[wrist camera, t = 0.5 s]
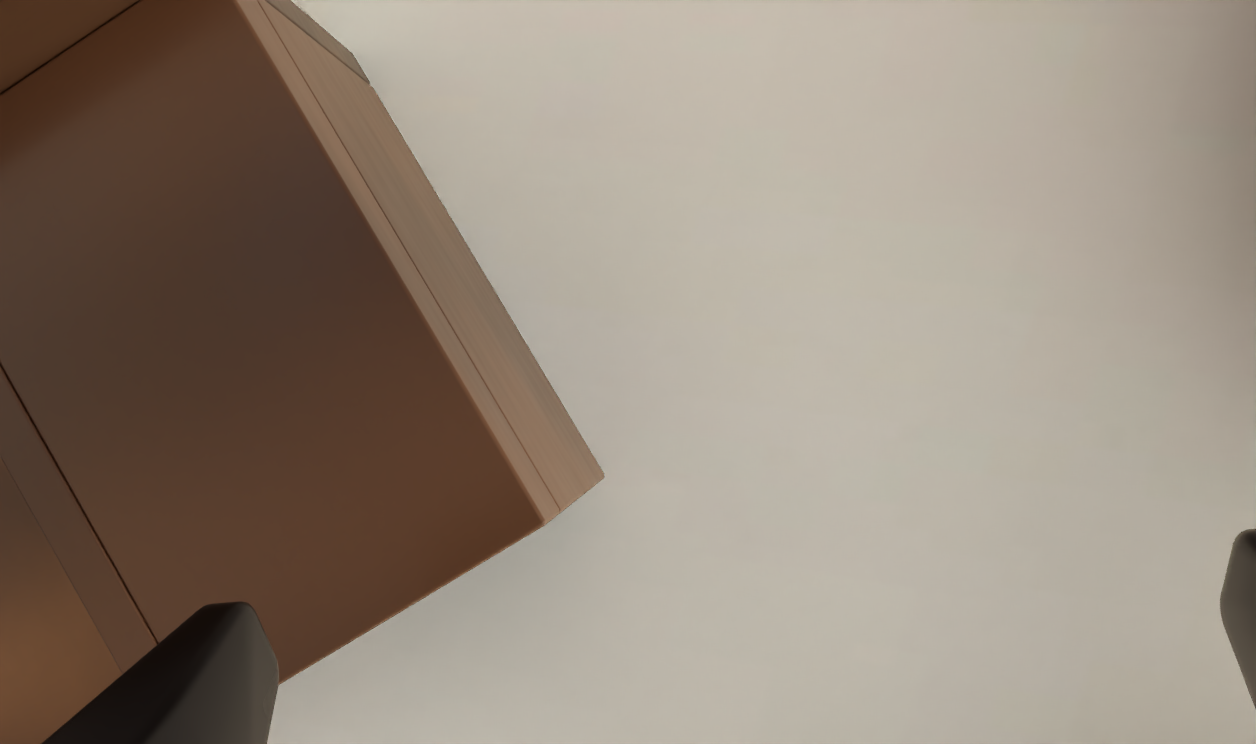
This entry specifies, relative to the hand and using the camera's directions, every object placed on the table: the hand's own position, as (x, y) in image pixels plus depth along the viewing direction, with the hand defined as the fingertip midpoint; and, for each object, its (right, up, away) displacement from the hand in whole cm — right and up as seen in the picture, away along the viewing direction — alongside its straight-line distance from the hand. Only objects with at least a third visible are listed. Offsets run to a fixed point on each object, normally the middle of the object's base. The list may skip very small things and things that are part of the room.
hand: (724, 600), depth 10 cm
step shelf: (-12, 0, +16) cm, 20 cm away
